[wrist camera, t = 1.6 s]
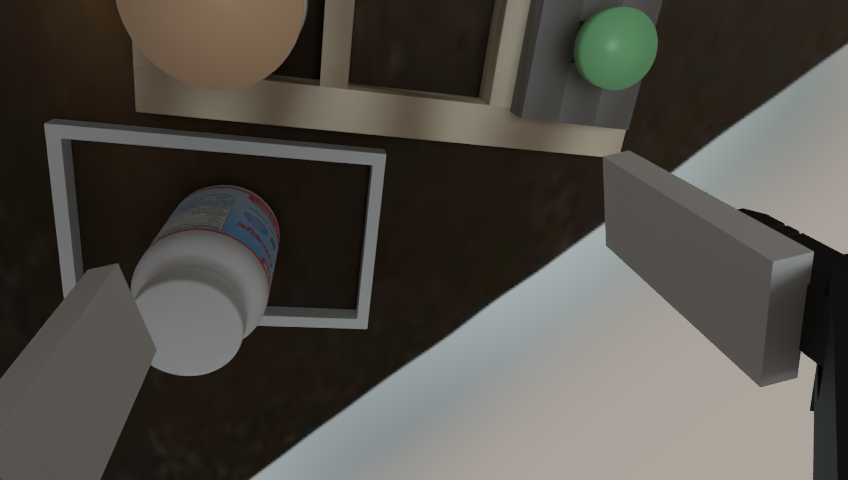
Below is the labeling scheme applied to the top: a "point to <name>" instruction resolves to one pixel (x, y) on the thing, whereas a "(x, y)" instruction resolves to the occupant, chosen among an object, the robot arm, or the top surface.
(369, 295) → the white rectangular frame
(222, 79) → the white canister
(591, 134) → the wooden divided rack
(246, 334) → the pill bottle
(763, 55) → the top surface
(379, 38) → the top surface
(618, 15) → the button
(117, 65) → the top surface
